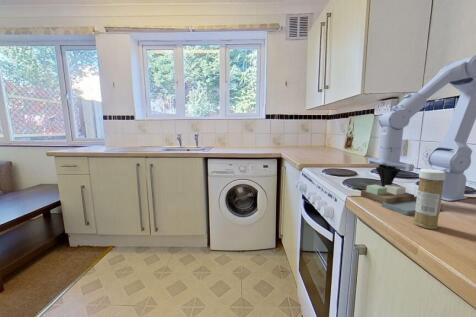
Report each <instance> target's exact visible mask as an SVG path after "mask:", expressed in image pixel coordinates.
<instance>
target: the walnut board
mask: <svg viewBox="0 0 476 317" xmlns="http://www.w3.org/2000/svg"><path fill="white" fill-rule="evenodd" d="M360 197H362V198H365V199H367V200H371V201H373V202H377V203H378V204H381V205H382V202H385V203H388V204H391V203H398V202H405V201H412V200H414V198H415V194H413V193H409V192H406V191H405V194H398V195H395V194H392V193H389V192H387V194H381V195H376V194H373V193H370V192H367V191H366V189H362V190H360Z"/></svg>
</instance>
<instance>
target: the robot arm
mask: <svg viewBox="0 0 476 317" xmlns="http://www.w3.org/2000/svg"><path fill="white" fill-rule="evenodd" d="M448 84H450V85H451V86H452V87H454V89H456V90H458V91H459V92H460V95H459V98H458V99H457V102H456V105H455V109H454V111H453V113H452V116H451V118H450V121H449V124H448V127H447V129H446V131H445V135H444V137H443V139H442V140H441V141H439V142H438V143H436V144H435V145H434V147H433V149H432V151H430V152H429V153H428V156H427V163H428V164H429V166H430V169H434V170H440V171H444V172H445V173H446V174H445V180H444V182H443V188H442V196H441V200H444V201H447V202H453V201H458V200H466V199H468V196H466V195H465V191H466V186H467V177H466V175H465V171H466V170H468V169H469V168H470V166H471V163H472V158H471V156H472V153H473V150H472V148H471V147H470V146H469V145H468V144H467V143H468V139H469V136H470V134H471V132H472V130H473V127H474V124H475V122H476V54H474V55H472V56H469V57H466V58H463V59H459V60H456V61H451V62H449V63H447V64H446V65H445V66H444V67H442V68H441V69H439V70H438V73H437V74H435V76H433V77H432V78H431V79H430V80H429V81H428V82H426V84H425V85H423V87H422V88H421V89H419V91H417V92H412V93H409V94H408V93H407V94H405V95H404V96H403V99H402V100H401V101H400V102H399V103H397V105H393V106H392V107H391V111H386V112H384V113H383V114H382V115H381V117H380V119H378V124H379V126H380V127H381V134H380V135H381V138H380V147H379V154H378V155H379V156H378V158H374V157H369V158H367V164H369V165H376V166H377V167H375V170H376V171H377V173H378V176H379V179H380V182H381V186H383V187H385V185H393V182H394V181H395V178H396V177H397V176H398V175H399V173H400V172H401V170H402V171H406V172H414V168H415V167H414V166H415V164H412V163H406V162H402V161H400V160H401V151H402V142H403V135H404V128H405V127H407V126H408V125H409V124H410V120H411V119H412V118H413V116H416V114H417V113H418V112H420V111H421V110H422V109H423V108H424V107H426V106H427V101H428V99H429V98H430V97H432V96H433V95H434V94H436V93H437V92H439V91H440V90H441V89H443V88H444V87H445V86H446V85H448ZM464 195H465V196H464Z"/></svg>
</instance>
